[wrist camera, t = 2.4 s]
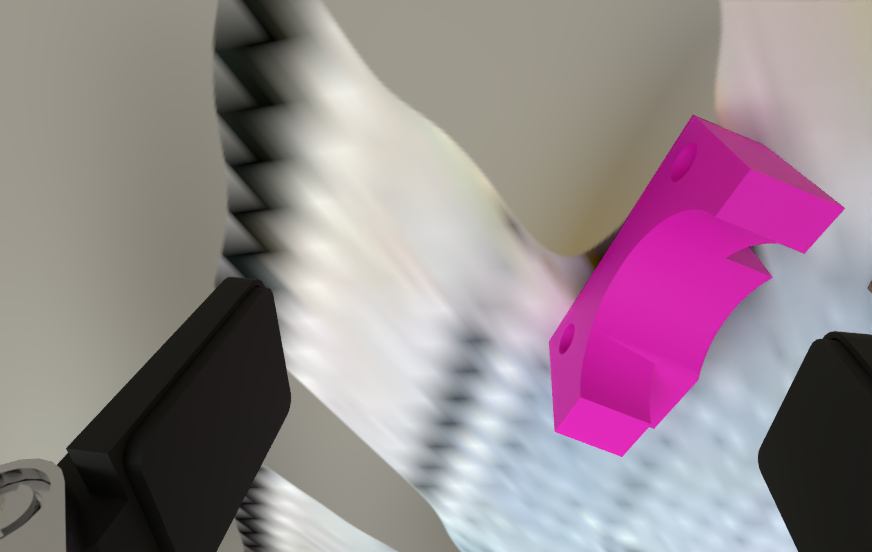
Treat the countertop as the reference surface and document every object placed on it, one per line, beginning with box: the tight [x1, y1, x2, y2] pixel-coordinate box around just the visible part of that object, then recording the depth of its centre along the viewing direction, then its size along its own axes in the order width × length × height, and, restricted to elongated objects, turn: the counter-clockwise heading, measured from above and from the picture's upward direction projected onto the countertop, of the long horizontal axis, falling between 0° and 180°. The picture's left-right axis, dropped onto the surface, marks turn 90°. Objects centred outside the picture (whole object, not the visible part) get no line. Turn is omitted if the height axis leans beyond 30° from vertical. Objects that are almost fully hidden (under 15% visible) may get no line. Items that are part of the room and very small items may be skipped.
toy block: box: [549, 115, 845, 457], centre depth 26 cm, size 15×6×8 cm, turn 160°
